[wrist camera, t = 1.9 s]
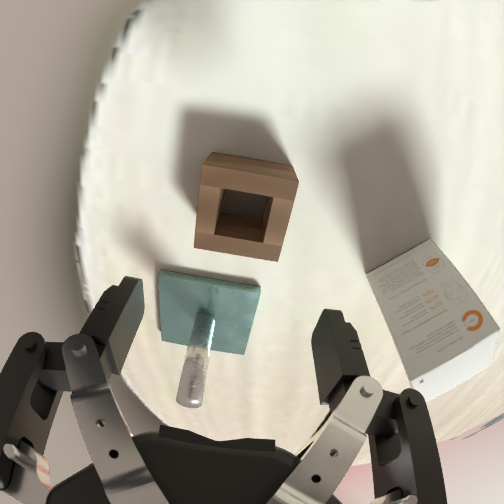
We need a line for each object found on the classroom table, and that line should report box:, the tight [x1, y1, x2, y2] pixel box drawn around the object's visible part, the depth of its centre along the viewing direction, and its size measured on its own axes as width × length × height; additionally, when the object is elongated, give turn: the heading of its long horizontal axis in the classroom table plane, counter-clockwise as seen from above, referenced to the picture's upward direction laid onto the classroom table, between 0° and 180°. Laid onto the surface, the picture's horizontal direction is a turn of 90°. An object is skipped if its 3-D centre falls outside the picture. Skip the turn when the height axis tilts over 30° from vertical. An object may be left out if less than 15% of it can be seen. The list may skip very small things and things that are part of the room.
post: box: [158, 270, 261, 408], centre depth 26 cm, size 10×10×11 cm
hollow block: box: [194, 152, 299, 262], centre depth 21 cm, size 6×6×4 cm
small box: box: [366, 239, 500, 402], centre depth 21 cm, size 8×6×13 cm
